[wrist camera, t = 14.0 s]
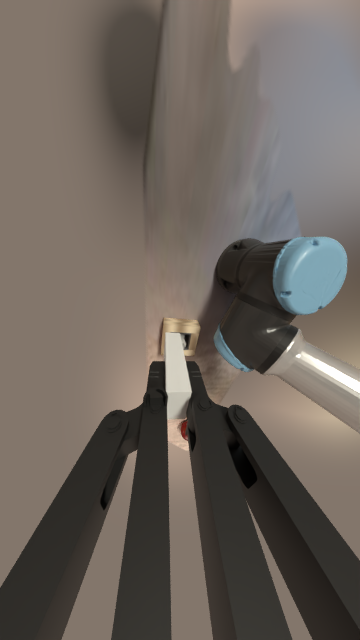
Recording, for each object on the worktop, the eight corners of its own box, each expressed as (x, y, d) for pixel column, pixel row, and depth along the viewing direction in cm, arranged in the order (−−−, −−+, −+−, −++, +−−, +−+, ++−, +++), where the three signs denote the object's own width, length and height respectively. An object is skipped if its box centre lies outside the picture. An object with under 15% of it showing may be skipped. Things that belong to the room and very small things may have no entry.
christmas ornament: (194, 416, 73) (198, 438, 64) (194, 424, 77) (198, 445, 68) (179, 418, 73) (181, 441, 64) (180, 426, 76) (182, 448, 67)
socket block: (197, 320, 46) (200, 327, 42) (191, 347, 51) (193, 355, 47) (163, 317, 44) (163, 324, 40) (161, 345, 49) (160, 354, 45)
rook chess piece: (176, 339, 49) (178, 353, 42) (171, 330, 47) (172, 344, 40) (186, 335, 49) (190, 348, 41) (182, 325, 47) (185, 338, 39)
